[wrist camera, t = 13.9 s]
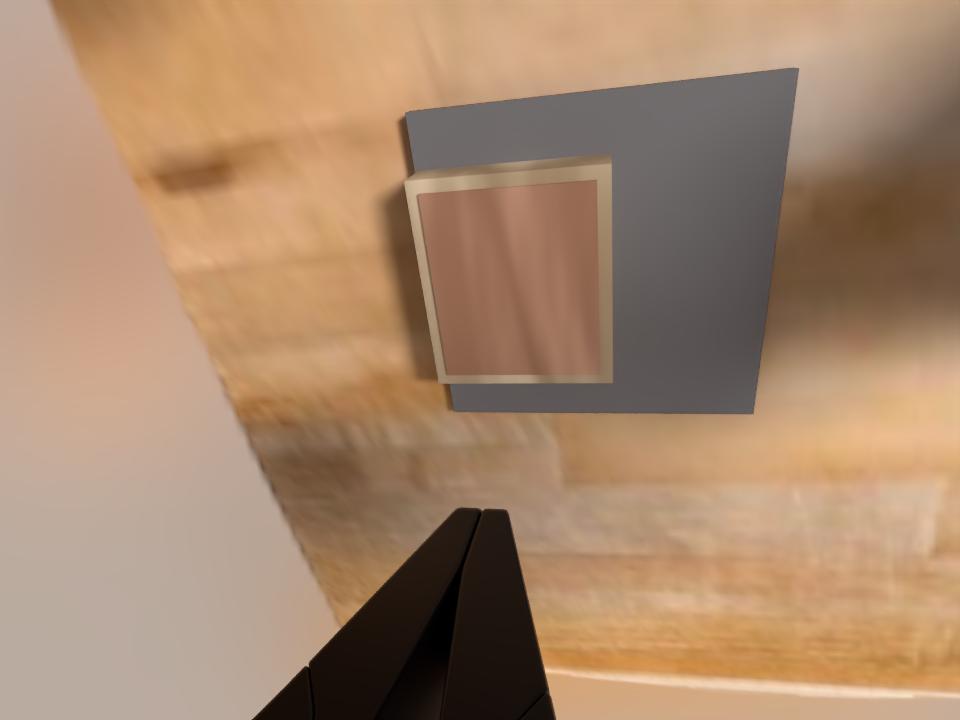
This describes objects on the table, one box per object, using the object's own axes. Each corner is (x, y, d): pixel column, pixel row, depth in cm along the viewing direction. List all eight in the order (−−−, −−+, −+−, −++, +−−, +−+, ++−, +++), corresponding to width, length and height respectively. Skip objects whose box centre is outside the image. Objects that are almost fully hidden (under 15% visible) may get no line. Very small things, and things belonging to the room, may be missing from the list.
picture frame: (611, 164, 15) (402, 181, 17) (613, 384, 19) (438, 385, 20) (610, 153, 17) (418, 170, 18) (612, 360, 20) (449, 361, 21)
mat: (793, 67, 15) (798, 68, 15) (750, 406, 21) (753, 414, 20) (409, 111, 18) (405, 113, 17) (456, 404, 23) (454, 412, 23)
